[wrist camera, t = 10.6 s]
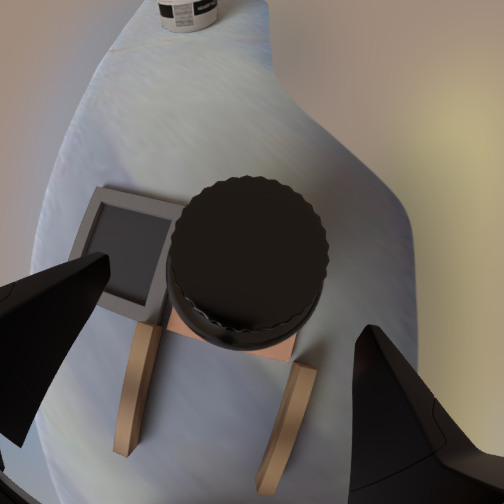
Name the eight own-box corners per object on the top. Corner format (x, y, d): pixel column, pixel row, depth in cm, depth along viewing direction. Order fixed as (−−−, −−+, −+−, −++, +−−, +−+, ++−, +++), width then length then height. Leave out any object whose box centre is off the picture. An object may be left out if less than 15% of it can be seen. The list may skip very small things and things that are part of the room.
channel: (269, 480, 17) (273, 495, 14) (124, 440, 17) (112, 451, 14) (308, 364, 19) (317, 369, 17) (148, 321, 19) (137, 321, 17)
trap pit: (158, 327, 19) (155, 327, 19) (65, 289, 19) (60, 288, 19) (193, 211, 22) (192, 207, 21) (100, 190, 22) (96, 186, 21)
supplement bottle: (193, 336, 18) (127, 361, 7) (195, 242, 20) (146, 148, 8) (290, 336, 19) (364, 359, 7) (288, 243, 20) (345, 151, 9)
